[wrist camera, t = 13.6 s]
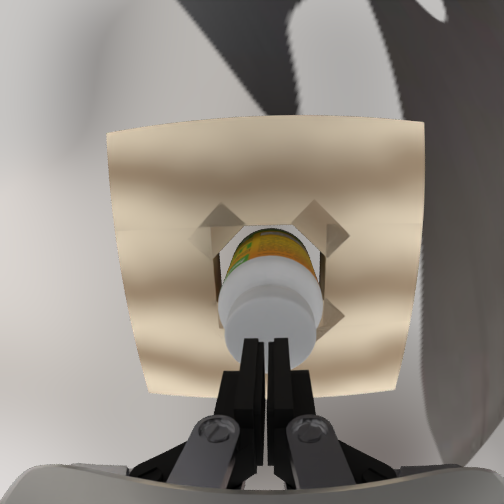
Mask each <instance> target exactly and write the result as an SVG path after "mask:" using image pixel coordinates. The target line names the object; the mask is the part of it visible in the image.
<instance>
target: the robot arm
mask: <svg viewBox="0 0 504 504" xmlns="http://www.w3.org/2000/svg"><path fill="white" fill-rule="evenodd" d="M264 427H265V358H264V342H259V339H258V338H244V343H243V349H242V356H241V363H240V370H239V371H223V374H222V379H221V384H220V388H219V393H218V397H217V402H216V407H215V411H214V415H212V416H207V417H205V418H203V419H201V420H200V421H198V423H197V424H196V425H195V426H194V428H193V430H192V432H191V435H190V437H189V438H188V441H186V442H184V443H182V444H180V445H178V446H176V447H174V448H173V449H170V450H169V451H166V452H164V453H162V454H160V455H158V456H156V457H154V458H152V459H149V460H148V461H145V462H143V463H141V464H139V465H137V466H136V467H134V468H133V469H128V467H127V466H114V465H95V464H81V463H76V464H71V465H62V464H56V465H55V464H50V465H40V466H34V467H32V468H29V469H27V470H26V471H24V472H23V473H22V474H21V475H20V476H19V477H18V478H17V479H16V480H15V481H14V482H13V484H12V485H11V486H10V487H9V489H8V490H7V492H6V493H5V494H4V496H3V497H2V499H1V500H0V504H504V477H502V476H501V475H500V474H498V473H497V472H495V471H492V470H490V469H485V468H478V467H462V466H460V465H457V464H444V465H429V466H401V467H400V469H392V468H391V467H390V466H388V465H387V464H385V463H383V462H381V461H379V460H377V459H375V458H373V457H371V456H369V455H367V454H365V453H363V452H361V451H359V450H357V449H355V448H353V447H351V446H349V445H347V444H345V443H343V442H341V441H340V440H338V438H337V436H336V434H335V431H334V429H333V426H332V425H331V423H330V422H329V421H328V420H327V419H325V418H324V417H321V416H318V415H316V413H315V406H314V399H313V392H312V386H311V379H310V373H309V370H291V369H290V356H289V343H288V338H274V342H268V381H267V446H268V447H267V448H268V466H274V474H275V475H276V476H278V477H279V478H280V479H282V480H283V481H284V489H285V490H244V488H245V481H246V479H248V478H249V477H251V476H252V475H254V474H256V473H257V466H263V453H264Z"/></svg>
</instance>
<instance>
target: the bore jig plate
mask: <svg viewBox="0 0 504 504" xmlns="http://www.w3.org/2000/svg"><path fill="white" fill-rule="evenodd" d="M106 134H107V153H108V166H109V167H108V168H109V181H110V191H111V201H112V211H113V218H114V227H115V234H116V242H117V248H118V254H119V261H120V267H121V272H122V279H123V284H124V289H125V295H126V300H127V305H128V310H129V315H130V319H131V324H132V329H133V333H134V337H135V341H136V346H137V350H138V354H139V358H140V362H141V365H142V369H143V373H144V377H145V380H146V384H147V387H148V391H149V393H156V394H165V395H176V396H189V397H205V398H217V397H218V393H219V388H220V384H221V379H222V374H223V371H239V370H240V363H239V362H237V361H236V360H235V359H234V358H233V356H232V355H231V354H230V352H229V350H228V348H227V346H226V342H225V329H224V328H223V325H222V323H221V320H220V317H219V312H218V300H219V294H220V290H221V287H222V283H221V270H220V256H219V252H220V251H221V250H222V249H223V248H224V247H225V246H226V244H227V243H228V242H229V241H230V240H231V239H232V238H233V237H234V236H235V235H236V234H237V233H238V232H239V231H240V230H241V229H242V228H243V226H257V225H294V226H295V227H296V228H297V229H298V230H299V231H300V232H301V233H302V234H303V235H304V236H305V237H306V238H307V239H308V240H309V241H310V242H312V244H313V245H315V247H317V248H318V249H319V250H320V275H319V286H320V289H321V293H322V299H323V312H322V317H321V320H320V323H319V325H318V327H317V329H316V342H315V345H314V348H313V350H312V352H311V354H310V355H309V356H308V358H307V359H306V360H305V361H304V362H303V363H301V364H300V365H298V366H297V367H295V368H293V369H291V370H309V373H310V379H311V386H312V392H313V397H329V396H342V395H353V394H364V393H371V392H381V391H389V390H395V387H396V383H397V379H398V375H399V371H400V367H401V363H402V359H403V354H404V350H405V345H406V340H407V335H408V330H409V325H410V319H411V314H412V308H413V302H414V296H415V289H416V282H417V275H418V267H419V258H420V248H421V238H422V225H423V210H424V186H425V138H424V122H416V121H407V120H397V119H385V118H372V117H354V116H328V115H325V116H324V115H276V116H249V117H232V118H217V119H206V120H196V121H186V122H176V123H168V124H161V125H154V126H146V127H140V128H133V129H127V130H121V131H115V132H110V133H106ZM267 381H268V374H267V373H265V399H267Z"/></svg>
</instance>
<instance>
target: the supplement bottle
mask: <svg viewBox="0 0 504 504" xmlns="http://www.w3.org/2000/svg"><path fill="white" fill-rule="evenodd" d="M218 312H219V317H220V320H221V323H222V325H223V328H224V329H225V342H226V346H227V348H228V350H229V352H230V354H231V355H232V356H233V358H234V359H235V360H236V361H237V362H239V363H241V356H242V349H243V343H244V338H258V339H259V342H264V358H265V373H267V374H268V342H274V338H288V343H289V356H290V369H293V368H295V367H297V366H298V365H300V364H301V363H303V362H304V361H305V360H306V359H307V358H308V356H309V355H310V354H311V352H312V350H313V348H314V345H315V342H316V329H317V327H318V325H319V323H320V320H321V317H322V312H323V299H322V293H321V289H320V286H319V283H318V280H317V277H316V275H315V272H314V269H313V266H312V263H311V260H310V257H309V255H308V252H307V250H306V248H305V246H304V245H303V243H302V242H301V241H300V240H299V239H298V238H297V237H296V236H294V235H293V234H291V233H289V232H287V231H284V230H281V229H275V228H268V229H261V230H258V231H255V232H253V233H251V234H250V235H248V236H247V237H246V238H244V239H243V241H242V242H241V243H240V244H239V245H238V247H237V249H236V251H235V253H234V255H233V258H232V261H231V263H230V266H229V269H228V271H227V274H226V277H225V279H224V282H223V285H222V287H221V290H220V294H219V300H218Z"/></svg>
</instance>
